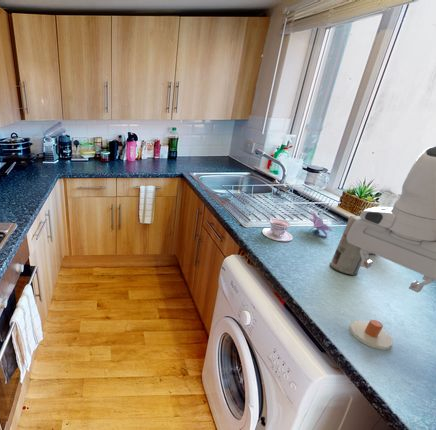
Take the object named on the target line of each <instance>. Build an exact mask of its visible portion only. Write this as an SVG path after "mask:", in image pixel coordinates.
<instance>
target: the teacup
mask: <svg viewBox="0 0 436 430" xmlns="http://www.w3.org/2000/svg"><path fill="white" fill-rule="evenodd" d="M269 224H270V227H265V228H263V229H262V231H261V233H262V234H263V236H264V237H266V238H267V239H270V240H273V241H276V242H291V241H293V238H294V236H293V235H292V234H291V233H290V232H288V231H287V230H288V228H290V227H291V223H290V222H289V221H287V220H286V219H282V218H278V217H277V218H276V217H273V218H270V220H269Z"/></svg>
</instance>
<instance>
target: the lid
mask: <svg viewBox="0 0 436 430" xmlns="http://www.w3.org/2000/svg"><path fill="white" fill-rule="evenodd" d="M383 327H384V325H383V323H382V322H380V321H379V320H377V319H370V320H369V321H363V320H355V321H352V322H351V323H350V325H349V327H348V328H349V332H350V334H351V335H352V336H353V337H354V338H355V339H356V340H357V341H359V342H361V343H362V344H363V345H366V346H368V347H370V348H372V349H376V350H381V351H382V350H383V351H386V350H389V349H391V348H392V346H393V344H394V341H393V338H392V337H391V336H390V334H389V333H387V332H386V331H385V330H384V329H383Z"/></svg>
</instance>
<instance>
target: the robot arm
mask: <svg viewBox="0 0 436 430" xmlns="http://www.w3.org/2000/svg"><path fill="white" fill-rule="evenodd" d="M359 216H360V218H361V219H358V220H356V221H355V222H354V223H353V225H352V226H351V228H350V230H349V232H348V234H347V236H346V239H347V241H348V243H350V244H352V245H355V246H357V247H359V248H361V250H360V255H361V259H362V262H361V264H360V267H362V268H364V269H366V270H368V269H370V268H371V267H372V264H373V263H374V260H372V259H370V254H368V253H373V254H372V255H376V256H378V257H379V258H383V259H384V260H388V261H390V262H392V263H395V264H396V265H399V266H401V267H403V268H406V269H409V270H411V271H413V272H416V273H418V274H420V275H422V276H423V277H422V280H423V281H421V282H420V281H418V280H414V281H412V282H411V283H410V286H409V287H408V289H409V290H411V291H413V292H415V293H419V292H421V291H422V290H423V288H424V287H425V286H427V285H429V284H430V285H431V284H432V283H434V282H436V145H433V146H431V147H428V148H426V149H425V150H423V151H422V153H420V154H419V156H418V157H417V159H416V160H415V161H414V163H413V164H412V166H411V168H410V169H409V172H408V173H407V175H406V177H405V179H404V181H403V183H402V186H401V194H400V196H399V197H398V199H397V200H396V201H395V202H394V203H393V205H392V207H391V206H374V207H370V208H366V209H364V210H362V211H361V212H360V214H359Z"/></svg>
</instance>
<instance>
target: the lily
mask: <svg viewBox="0 0 436 430" xmlns="http://www.w3.org/2000/svg"><path fill="white" fill-rule="evenodd" d="M310 212H311V215H312V217H308V218H307V219H308V220H309V221H311V222H312V223H313V227H311V228H310V230H308V232H307V233H306V235H308V234H310V233H311V231H312V230H313V229H316V230H317V231H321V232H322V233H323V234H324V235H325V236H326V237H328V233H327V232H332V233H333V232H334V230H333V229H332V228H331V227H330V226H329V225H328V224H325V223H324V221H323V219H322V217H321V218H319V216H318V215H317V214H316V213H315V212H314V211H313V210H310Z"/></svg>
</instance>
